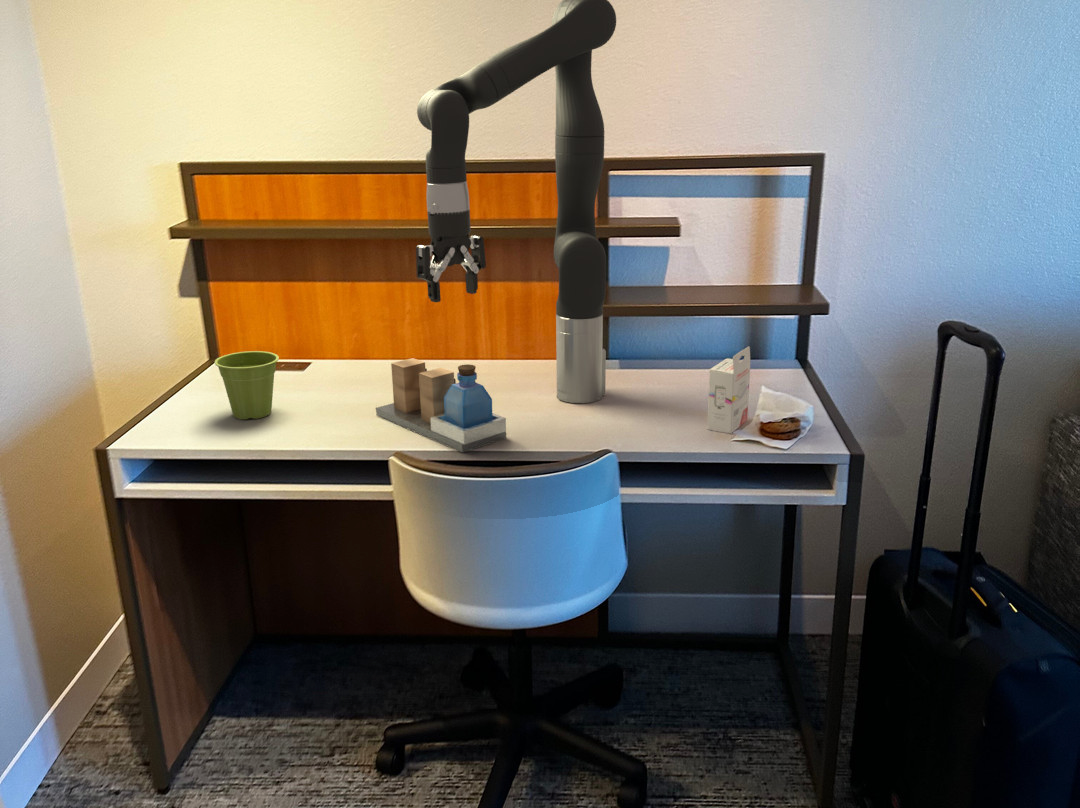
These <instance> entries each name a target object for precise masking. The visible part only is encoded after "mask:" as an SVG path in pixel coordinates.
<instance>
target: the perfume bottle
mask: <svg viewBox="0 0 1080 808" xmlns="http://www.w3.org/2000/svg"><path fill="white" fill-rule="evenodd" d="M476 368H477V367H476V365H473V364H461V365H458V366H457V370H458V372H457V375H456V378H457V381H458V382H457V383H456V384H452V385H451V387H450V388H449V390H448V392H447V393H446V395H445V396H444V409H445V421H446V422H448V423H451V424H453V425H456V426H458V427H461V428H463V429H466V428H469V427H472V426H475V425H479V424H482V423H485V422H488V421H492V420H493V415H492V413H493V398H492V397H491V395H490V394H489V393H488V390H487V389H486V388H485V386H484V385H483V384H480V383H478V382H476V381H477V378H478V375H477V374H478V373H477V372H476Z"/></svg>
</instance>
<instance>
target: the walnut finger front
mask: <svg viewBox="0 0 1080 808" xmlns="http://www.w3.org/2000/svg"><path fill="white" fill-rule="evenodd" d="M419 384H420V402H421V419H422V420H424V421H427V422H429V423H431V417H435V416H438V415H442V414H445V409H444V396H445V395H446V393H447V392H448V390H449V388H450V387H451V385H452V384H456V378H455V372H454V371H451V370H449V369H446V368H443V367H438V368H434V369H431V370H427V371H426V372H422V373H419Z"/></svg>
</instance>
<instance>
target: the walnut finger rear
mask: <svg viewBox="0 0 1080 808" xmlns="http://www.w3.org/2000/svg"><path fill="white" fill-rule="evenodd" d="M390 366H391V367H390V368H391V380H392V394H393V395H392V396H393V403H394V408H396V409H398V410H400V411H403V412H405V413H407V412H411V411H415V410H418V409H421V402H420V384H419V373H422V372H426V371H428V368H426V362H425V361H422V360H419V359H416V358H413V357H412V358H411V357H410V358H408V359H404V360H400V361H395V362H392V363H390Z"/></svg>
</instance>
